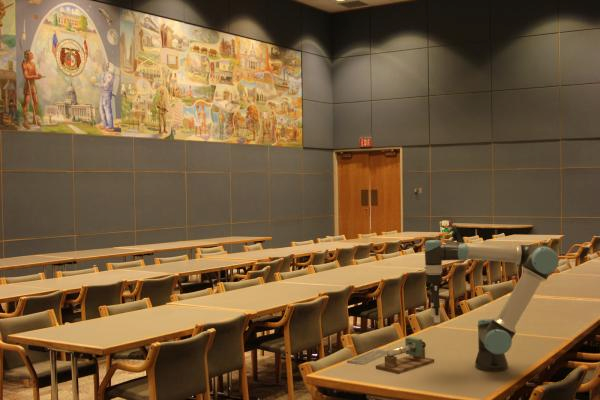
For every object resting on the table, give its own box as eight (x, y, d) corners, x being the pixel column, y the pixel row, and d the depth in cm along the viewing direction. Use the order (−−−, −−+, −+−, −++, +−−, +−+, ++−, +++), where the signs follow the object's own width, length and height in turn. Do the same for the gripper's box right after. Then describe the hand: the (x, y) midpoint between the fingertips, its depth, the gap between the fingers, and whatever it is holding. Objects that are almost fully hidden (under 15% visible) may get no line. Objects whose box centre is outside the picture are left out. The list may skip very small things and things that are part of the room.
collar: (409, 352, 346) (409, 336, 346) (422, 355, 341) (422, 339, 340) (405, 353, 344) (405, 337, 344) (418, 356, 339) (418, 340, 338)
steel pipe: (417, 347, 347) (417, 340, 347) (422, 348, 345) (422, 341, 345) (386, 356, 331) (386, 349, 331) (392, 357, 328) (391, 350, 328)
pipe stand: (411, 357, 352) (411, 345, 352) (434, 362, 342) (433, 349, 342) (375, 368, 333) (375, 355, 333) (398, 373, 323) (398, 360, 323)
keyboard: (364, 366, 341) (364, 362, 340) (346, 363, 346) (346, 359, 346) (392, 353, 364) (392, 350, 364) (375, 351, 370) (375, 347, 370)
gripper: (423, 270, 331) (425, 314, 332) (427, 277, 306) (429, 325, 307) (439, 270, 330) (441, 314, 331) (445, 277, 306) (446, 324, 306)
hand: (435, 319), depth 319 cm, fingers open, 13 cm apart
